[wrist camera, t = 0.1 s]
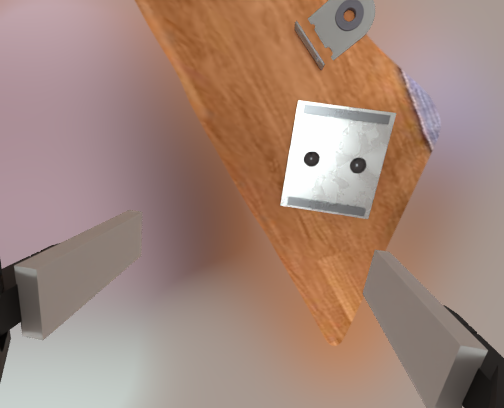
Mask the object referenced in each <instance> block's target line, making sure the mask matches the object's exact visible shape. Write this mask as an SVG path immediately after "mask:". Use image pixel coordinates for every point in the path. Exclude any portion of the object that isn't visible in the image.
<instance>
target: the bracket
mask: <svg viewBox="0 0 504 408" xmlns="http://www.w3.org/2000/svg"><path fill="white" fill-rule="evenodd" d="M347 10H352V11H353V12H354V13H355V18H354V20H353V21H350V22H347V21H345V19H344V16H343V15H344V12H345V11H347ZM374 17H375V4H374V1H373V0H328V1H327V2H326V3H325V4H324V5H323V6H322V7H321V8H320V9H318V10H317V11H316V12H315V13H314V14H313V15H312V16H311V17H309V18H308V20H309V22H310V23H311V24H314V25H315V29H314V30H315V31H316V33H317V35H318V36H319V38H320V40H321V41H322V43H323V45H324V46H325V48H327V47H329V48H330V49H331V50H332V52H333V55H332V56H331V58H332V59H333V60H335V59H336V58H337V57H338V56H340V55H341V54H342V53H343V52H345V51H346V50H347V49H348V48H350V47H351V46H352V45H353V44H355V43H356V42H357V41H358V40H360V39H361V38H362V37H363V36H364V35H365V34H366V33H367V32H368V30H369V29H370V27H371V25H372V23H373V20H374ZM295 31H296V32H297V34H298V35H299V37H300V38H301V40H302V42H303V43H304V45H305V46H306V48H307V49H308V51H309V52H310V54H311V55H312V57H313V59H314V60H315V62H316V63H317V65H318V66H319V68H320V69H321V70H322V69H323V67H324V65H325V64H324V62H323V61H322V59H321V57H320V56H319V54H318V53H317V51H316V50H315V48H314V47H313V45H312V43H311V42H310V40H309V39H308V37H307V36H306V34H305V33H304V31H303V30H302V28H301V26H300V25H299V23H298V22H297V21H296V22H295Z"/></svg>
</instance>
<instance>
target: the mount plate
mask: <svg viewBox="0 0 504 408" xmlns="http://www.w3.org/2000/svg"><path fill="white" fill-rule="evenodd" d="M395 116H396V113H391V112H383V111H376V110H368V109H360V108H353V107H345V106H338V105H330V104H322V103H315V102H307V101H300V100H298V103H297V109H296V115H295V121H294V127H293V133H292V138H291V144H290V150H289V156H288V162H287V168H286V174H285V179H284V185H283V191H282V197H281V203H280V205H281V206H287V207H294V208H300V209H307V210H313V211H319V212H326V213H332V214H339V215H345V216H352V217H358V218H365V219H368V217H369V214H370V210H371V206H372V202H373V199H374V195H375V191H376V188H377V184H378V180H379V176H380V173H381V169H382V165H383V161H384V158H385V154H386V150H387V146H388V143H389V139H390V135H391V131H392V128H393V124H394V120H395Z"/></svg>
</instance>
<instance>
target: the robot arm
mask: <svg viewBox="0 0 504 408" xmlns="http://www.w3.org/2000/svg"><path fill="white" fill-rule="evenodd" d="M141 242H142V212H139V211H133V210H128V211H126V212H124V213H122V214H120V215H118V216H116V217H114V218H112V219H110V220H108V221H105V222H103V223H101V224H99V225H97V226H95V227H93V228H91V229H89V230H87V231H85V232H83V233H80V234H78V235H76V236H74V237H72V238H70V239H68V240H66V241H64V242H62V243H59V244H56V245H52V246H49V247H47V248H45V249H43V250H41V251H40V252H37V253H35V254H33V255H31V257H30V256H28V257H26V258H24V259H22V260H20V261H18V262H16V263H14V264H12V265H9V266H7V267H5V268H3V269H1V261H0V382H1V378H2V373H3V369H4V365H5V361H6V357H7V352H8V348H9V344H10V340H11V337H10V329H11V328H13V327H14V326H15V325H17V324H18V323H20V322H21V329H22V336H24V337H29V338H34V339H39V340H44V339H45V338H46V337H47V336H49V335H50V334H51V333H52V332H53V331H54V330H56V329H57V328H58V327H59V326H60V325H61V324H63V323H64V322H65V321H66V320H67V319H68V318H69V317H70V316H72V315H73V314H74V313H75V312H76V311H78V310H79V309H80V308H81V307H82V306H83V305H85V304H86V303H87V302H88V301H89V300H90V299H92V298H93V297H94V296H95V295H96V294H97V293H98V292H100V291H101V290H102V289H103V288H104V287H105V286H107V285H108V284H109V283H110V282H111V281H112V280H114V279H115V278H116V277H117V276H118V275H119V274H120V273H122V272H123V271H124V270H125V269H126V268H127V267H129V266H130V265H131V264H132V263H133V262H134V261H136V260H137V259H138V258H139V257H140V256H141ZM363 295H364V297H365V299H366V301H367V302H368V304H369V306H370V308H371V309H372V311H373V313H374V315H375V317H376V319H377V320H378V322H379V324H380V326H381V327H382V329H383V331H384V333H385V335H386V336H387V338H388V340H389V342H390V344H391V345H392V347H393V349H394V351H395V353H396V354H397V356H398V358H399V360H400V362H401V363H402V365H403V367H404V369H405V370H406V372H407V374H408V376H409V378H410V379H411V381H412V383H413V385H414V387H415V388H416V390H417V392H418V394H419V395H420V397H421V399H422V401H423V403H424V405H425V406H426V408H462V406H463V407H464V408H504V358H503V357H502V356H501V355H500V354H499V353H498V352H497V351H496V350H495V349H494V348H493V347H492V346H490V345H489V344H488V343H487V342H486V341H485V340H484V339H483V338H482V337H481V336H480V335H479V334H477V332H476V331H475V330H474V329H473V328H472V327H471V326H469V325H468V323H467V322H466V321H464V320H463V318H461V317H460V316H459V315H458V314H457V313H455V312H454V311H452V310H451V309H449V308H448V307H446V306H444V305H442V304H441V303H440V302H439V301H438V300H437V299H436V298H435V297H434V296H433V295H432V294H431V293H430V292H429V291H428V290H427V289H426V288H425V287H424V286H423V285H422V284H421V283H420V282H419V281H418V280H417V279H416V278H415V277H414V276H413V275H412V274H411V273H410V272H409V271H408V270H407V269H406V268H405V267H404V266H403V265H402V264H401V263H400V262H399V261H398V260H397V259H396V258H395V257H394V256H393V255H392V254H391V253H390V252H386V251H380V250H375V252H374V255H373V259H372V262H371V266H370V269H369V273H368V276H367V280H366V283H365V287H364V290H363Z"/></svg>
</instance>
